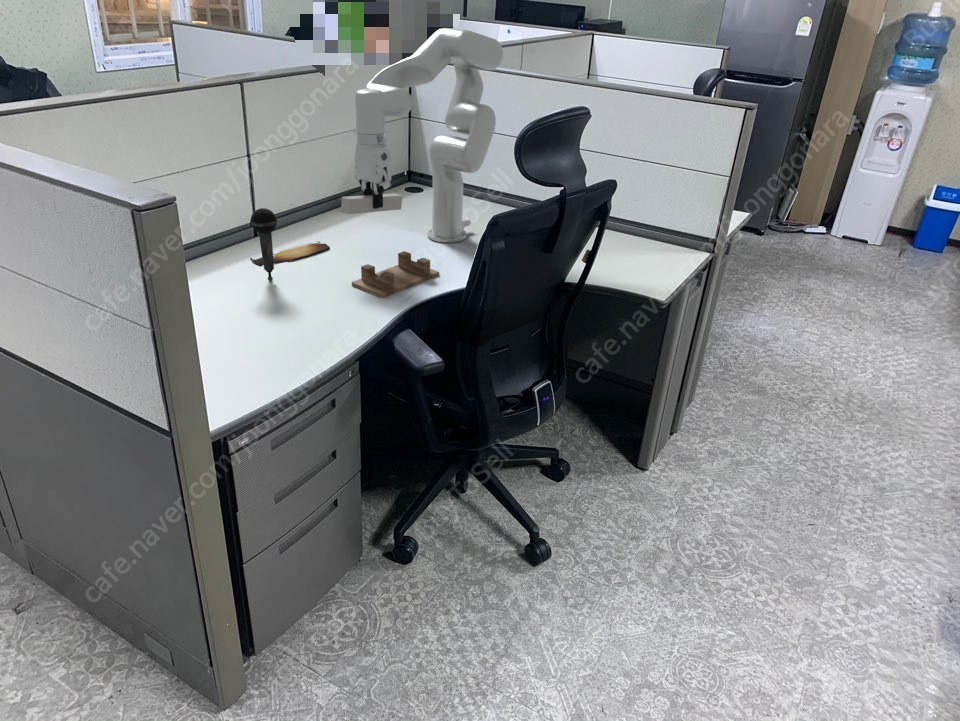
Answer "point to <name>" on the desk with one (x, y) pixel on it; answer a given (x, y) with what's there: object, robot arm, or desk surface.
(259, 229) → the microphone
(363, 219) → the desk surface
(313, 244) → the parchment
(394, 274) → the wooden pegged board
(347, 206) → the clay strip
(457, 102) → the robot arm
